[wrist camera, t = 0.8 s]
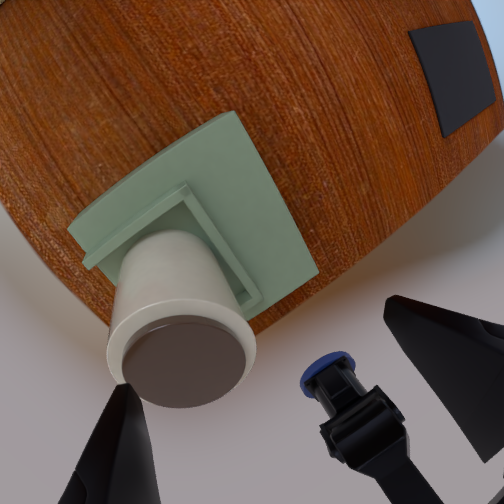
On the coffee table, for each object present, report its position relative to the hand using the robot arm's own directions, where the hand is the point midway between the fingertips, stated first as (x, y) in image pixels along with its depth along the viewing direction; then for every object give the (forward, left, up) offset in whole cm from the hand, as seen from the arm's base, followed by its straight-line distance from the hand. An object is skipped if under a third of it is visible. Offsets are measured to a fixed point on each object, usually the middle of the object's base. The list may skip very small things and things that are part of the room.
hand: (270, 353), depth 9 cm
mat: (+1, -31, -12) cm, 33 cm away
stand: (0, +1, -12) cm, 12 cm away
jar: (0, +3, -9) cm, 10 cm away
